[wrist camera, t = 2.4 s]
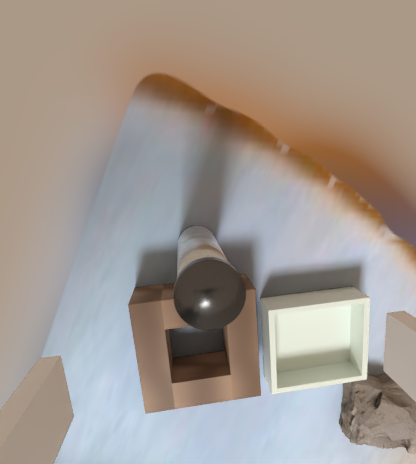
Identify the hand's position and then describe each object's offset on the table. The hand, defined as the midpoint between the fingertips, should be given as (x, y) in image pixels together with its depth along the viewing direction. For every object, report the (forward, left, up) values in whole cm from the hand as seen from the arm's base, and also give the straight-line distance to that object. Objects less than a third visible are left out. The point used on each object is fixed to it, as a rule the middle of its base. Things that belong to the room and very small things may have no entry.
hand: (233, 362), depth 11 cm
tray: (+12, -12, -19) cm, 25 cm away
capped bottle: (0, 0, -19) cm, 19 cm away
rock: (+22, -24, -19) cm, 38 cm away
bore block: (-1, -10, -19) cm, 21 cm away
